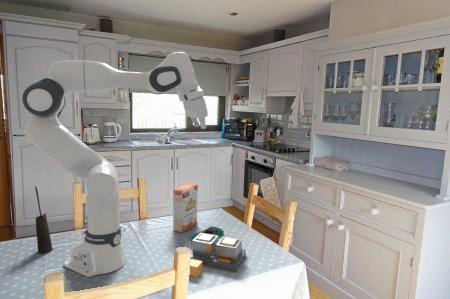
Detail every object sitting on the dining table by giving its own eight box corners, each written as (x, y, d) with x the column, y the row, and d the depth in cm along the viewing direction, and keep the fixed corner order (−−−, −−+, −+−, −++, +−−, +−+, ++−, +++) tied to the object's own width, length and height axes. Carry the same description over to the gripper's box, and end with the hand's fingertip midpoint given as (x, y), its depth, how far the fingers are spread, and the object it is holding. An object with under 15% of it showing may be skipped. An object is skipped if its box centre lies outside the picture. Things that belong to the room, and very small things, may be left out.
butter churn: (48, 242, 136) (43, 180, 132) (64, 246, 132) (60, 182, 128) (28, 252, 127) (22, 185, 123) (45, 256, 124) (40, 188, 120)
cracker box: (183, 233, 148) (183, 190, 145) (172, 231, 151) (172, 189, 148) (198, 223, 161) (198, 184, 158) (188, 221, 163) (188, 182, 160)
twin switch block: (186, 262, 122) (186, 243, 121) (201, 246, 135) (201, 229, 134) (235, 272, 115) (236, 252, 114) (245, 255, 128) (246, 237, 127)
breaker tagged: (220, 249, 121) (221, 242, 121) (225, 244, 126) (225, 237, 125) (233, 252, 119) (233, 244, 119) (237, 246, 124) (237, 239, 124)
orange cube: (185, 275, 113) (185, 264, 112) (191, 268, 117) (191, 259, 116) (197, 277, 111) (197, 267, 111) (202, 271, 115) (202, 261, 115)
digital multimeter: (224, 235, 148) (224, 229, 148) (203, 246, 136) (203, 239, 136) (212, 230, 153) (212, 225, 153) (190, 241, 141) (190, 235, 140)
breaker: (197, 245, 124) (197, 238, 124) (202, 240, 129) (202, 233, 129) (209, 247, 123) (209, 240, 122) (213, 242, 127) (213, 235, 127)
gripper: (176, 96, 129) (187, 128, 133) (188, 96, 110) (200, 132, 114) (190, 92, 131) (200, 123, 135) (204, 90, 112) (215, 126, 116)
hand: (200, 127), depth 124 cm, fingers open, 8 cm apart
